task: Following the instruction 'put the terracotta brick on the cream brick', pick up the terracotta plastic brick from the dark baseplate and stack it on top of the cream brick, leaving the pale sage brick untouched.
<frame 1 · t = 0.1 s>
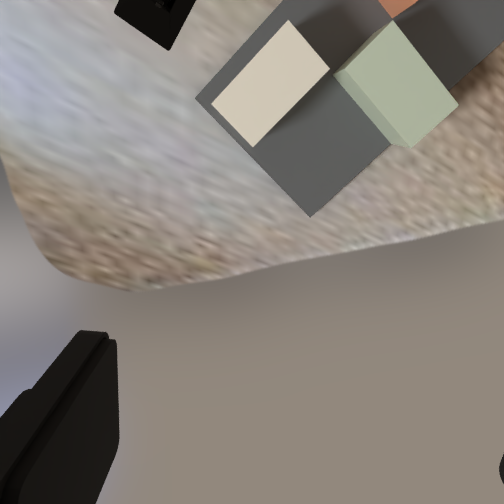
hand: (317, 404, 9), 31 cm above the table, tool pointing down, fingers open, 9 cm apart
sage brick: (382, 90, 35), point 1 cm above the table, touching baseplate
cream brick: (267, 90, 35), point 1 cm above the table, touching baseplate
baseplate: (358, 55, 35), on the table
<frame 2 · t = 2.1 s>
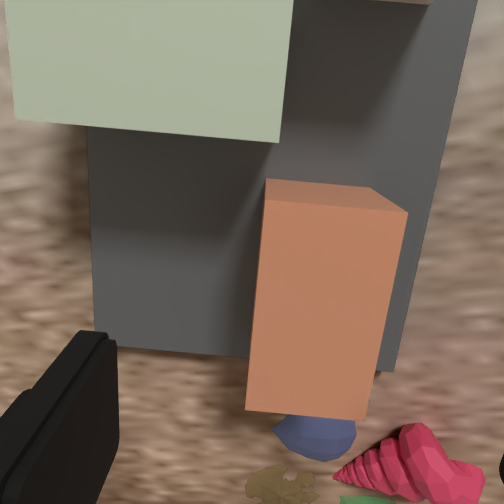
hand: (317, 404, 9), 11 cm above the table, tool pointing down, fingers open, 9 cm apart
sage brick: (182, 69, 16), point 1 cm above the table, touching baseplate
terracotta brick: (306, 269, 19), point 1 cm above the table, touching baseplate
toy pieces: (342, 464, 24), on the table
baseplate: (268, 92, 17), on the table
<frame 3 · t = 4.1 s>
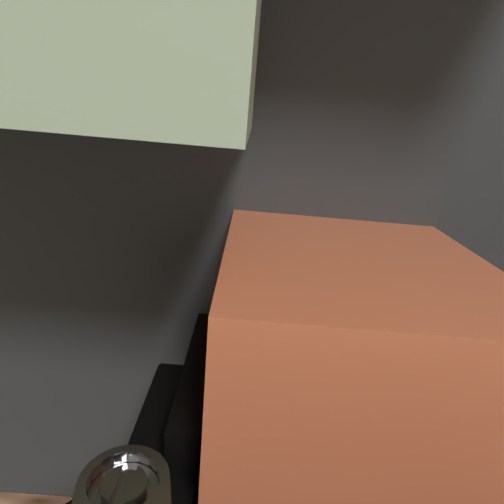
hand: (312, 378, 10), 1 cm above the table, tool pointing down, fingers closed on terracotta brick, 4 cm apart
terracotta brick: (310, 369, 10), point 1 cm above the table, touching baseplate, gripper
baseplate: (235, 41, 9), on the table
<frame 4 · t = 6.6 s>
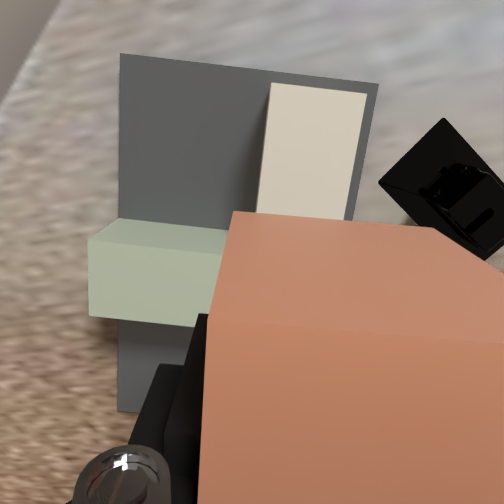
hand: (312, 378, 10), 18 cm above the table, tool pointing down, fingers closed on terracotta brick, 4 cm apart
sage brick: (178, 257, 27), point 1 cm above the table, touching baseplate
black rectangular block: (451, 198, 27), on the table
terracotta brick: (310, 370, 10), point 18 cm above the table, touching gripper
cream brick: (297, 163, 25), point 1 cm above the table, touching baseplate
baseplate: (230, 265, 28), on the table
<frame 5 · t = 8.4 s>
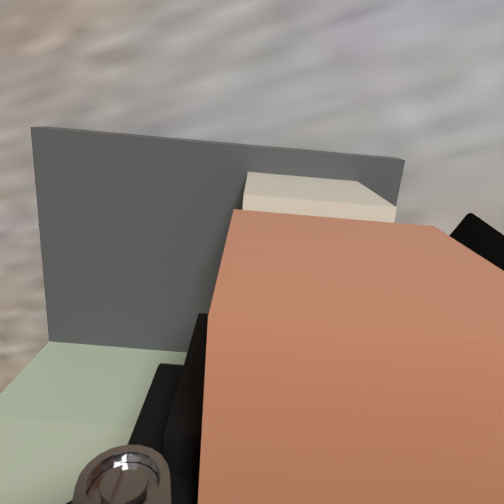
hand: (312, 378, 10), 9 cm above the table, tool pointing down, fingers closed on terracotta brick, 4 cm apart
sage brick: (133, 387, 20), point 1 cm above the table, touching baseplate
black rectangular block: (495, 304, 20), on the table
terracotta brick: (310, 369, 10), point 9 cm above the table, touching gripper
cream brick: (291, 267, 18), point 1 cm above the table, touching baseplate
baseplate: (206, 389, 21), on the table
when the fingers open (8 cm above the table, at t = 9.5 s): terracotta brick drops 1 cm, resting on cream brick.
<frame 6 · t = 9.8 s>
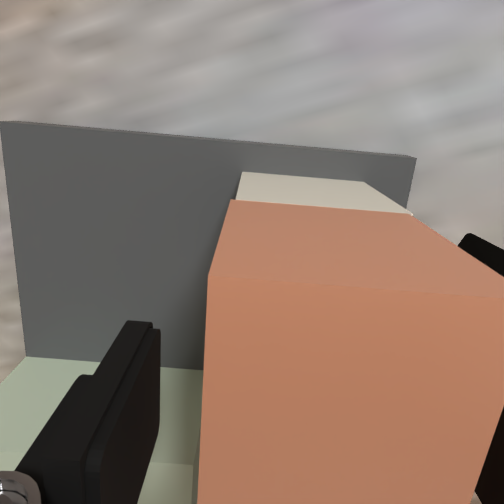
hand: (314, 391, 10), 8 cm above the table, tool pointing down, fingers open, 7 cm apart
sage brick: (119, 405, 18), point 1 cm above the table, touching baseplate
terracotta brick: (300, 344, 11), point 6 cm above the table, touching cream brick
cream brick: (290, 276, 16), point 1 cm above the table, touching baseplate, terracotta brick
baseplate: (199, 405, 20), on the table
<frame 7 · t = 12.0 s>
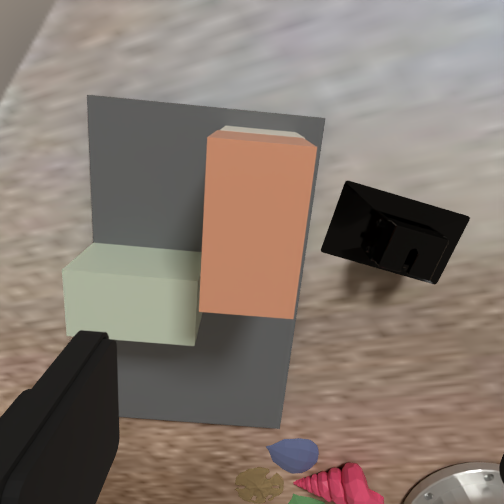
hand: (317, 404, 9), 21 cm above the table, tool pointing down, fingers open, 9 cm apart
sage brick: (150, 276, 29), point 1 cm above the table, touching baseplate
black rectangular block: (389, 231, 30), on the table
terracotta brick: (253, 208, 23), point 6 cm above the table, touching cream brick
toy pieces: (301, 476, 38), on the table
cream brick: (255, 190, 27), point 1 cm above the table, touching baseplate, terracotta brick
baseplate: (199, 281, 31), on the table
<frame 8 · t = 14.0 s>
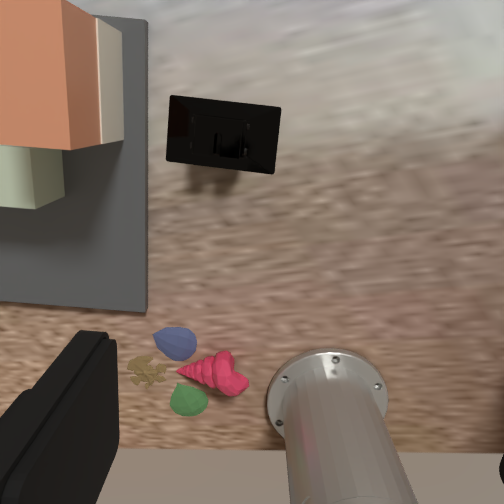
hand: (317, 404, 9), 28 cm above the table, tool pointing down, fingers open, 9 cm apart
sage brick: (16, 166, 35), point 1 cm above the table, touching baseplate
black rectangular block: (222, 134, 35), on the table
terracotta brick: (65, 81, 28), point 6 cm above the table, touching cream brick
toy pieces: (184, 366, 43), on the table
cream brick: (94, 85, 32), point 1 cm above the table, touching baseplate, terracotta brick
baseplate: (62, 174, 36), on the table
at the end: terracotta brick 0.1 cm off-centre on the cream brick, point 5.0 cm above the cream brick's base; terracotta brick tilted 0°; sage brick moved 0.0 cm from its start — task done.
